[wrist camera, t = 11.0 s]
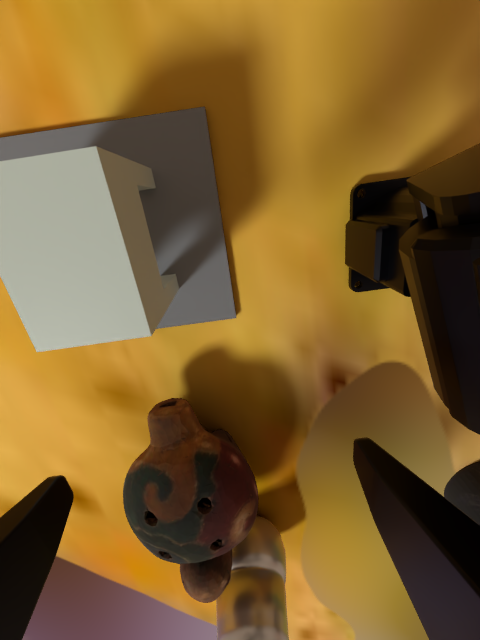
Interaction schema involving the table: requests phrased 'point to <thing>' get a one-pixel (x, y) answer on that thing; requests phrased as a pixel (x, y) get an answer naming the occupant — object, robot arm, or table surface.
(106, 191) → the notched white block
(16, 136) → the mat
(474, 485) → the travel mug
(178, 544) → the painted clay ocarina
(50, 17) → the table surface
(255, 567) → the plastic bottle
